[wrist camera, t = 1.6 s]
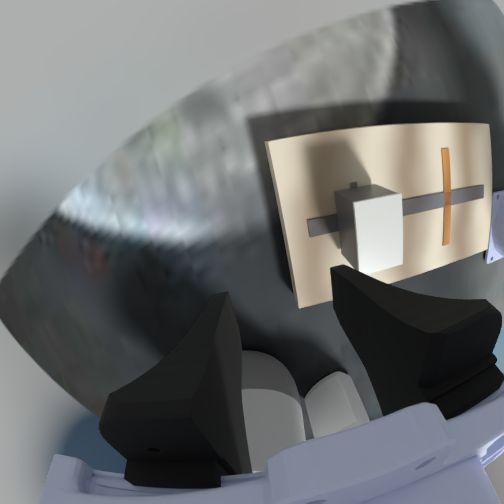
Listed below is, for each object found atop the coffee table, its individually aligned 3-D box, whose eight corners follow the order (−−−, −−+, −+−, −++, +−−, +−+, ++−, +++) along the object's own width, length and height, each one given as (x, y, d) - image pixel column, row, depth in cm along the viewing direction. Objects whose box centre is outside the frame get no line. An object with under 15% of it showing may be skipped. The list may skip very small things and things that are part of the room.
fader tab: (375, 183, 17) (401, 193, 14) (379, 244, 19) (402, 264, 16) (333, 190, 17) (354, 202, 14) (340, 254, 19) (359, 276, 16)
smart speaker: (226, 323, 23) (228, 482, 10) (310, 359, 26) (351, 488, 13) (180, 385, 26) (167, 510, 13) (256, 410, 29) (270, 522, 16)
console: (474, 122, 18) (489, 124, 16) (475, 241, 22) (488, 249, 20) (264, 141, 18) (268, 141, 16) (293, 294, 23) (299, 309, 21)
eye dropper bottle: (296, 385, 27) (321, 485, 16) (346, 365, 27) (387, 460, 16) (307, 405, 29) (331, 494, 18) (353, 386, 28) (389, 472, 17)
